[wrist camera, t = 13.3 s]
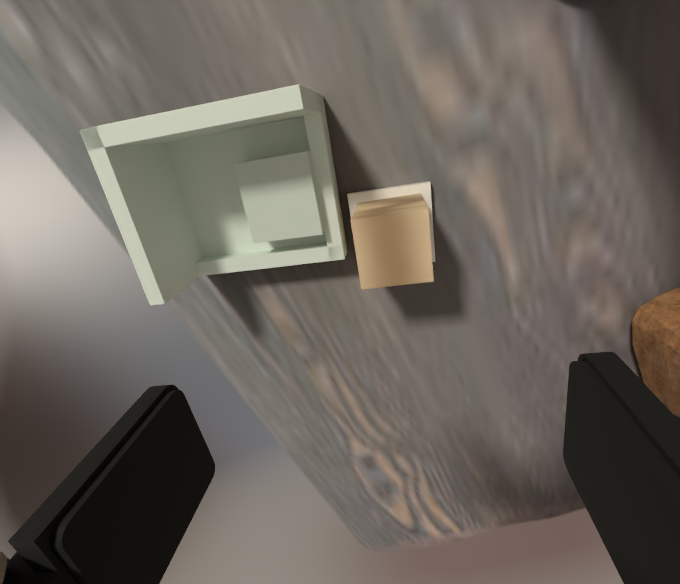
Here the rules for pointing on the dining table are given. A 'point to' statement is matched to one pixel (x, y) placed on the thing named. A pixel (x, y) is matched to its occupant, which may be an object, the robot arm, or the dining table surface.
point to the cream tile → (396, 192)
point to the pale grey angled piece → (222, 187)
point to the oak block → (392, 241)
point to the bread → (660, 347)
